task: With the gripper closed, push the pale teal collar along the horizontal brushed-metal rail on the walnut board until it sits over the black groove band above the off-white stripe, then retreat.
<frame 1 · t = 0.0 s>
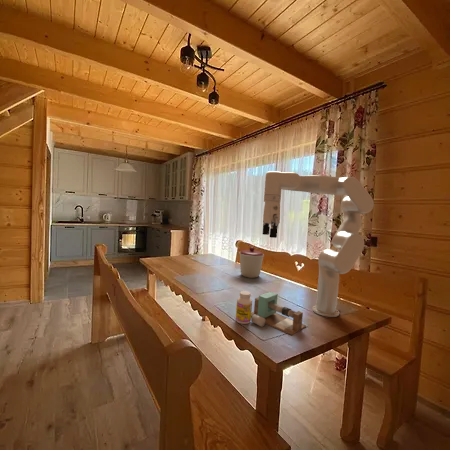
hand: (269, 235, 120), 37 cm above the table, tool pointing down, fingers open, 9 cm apart
pipe rig: (275, 320, 116), on the table
collar: (267, 304, 119), point 6 cm above the table, slide at 0.0 cm
canister: (250, 276, 186), on the table
supplement bottle: (243, 321, 114), on the table
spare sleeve: (258, 324, 112), on the table
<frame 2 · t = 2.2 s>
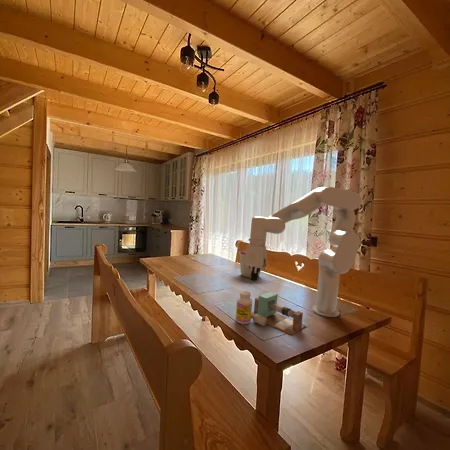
hand: (253, 280, 124), 15 cm above the table, tool pointing down, fingers closed
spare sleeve: (258, 323, 112), on the table, tilted 34°
everything else where it was.
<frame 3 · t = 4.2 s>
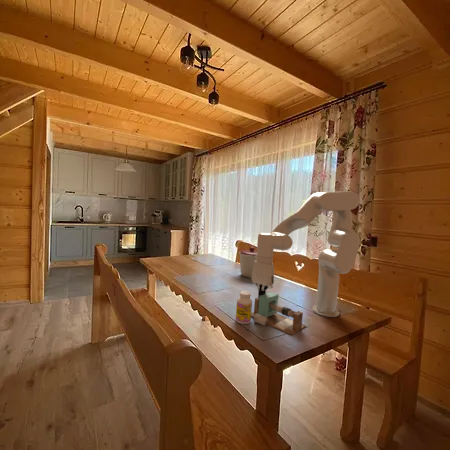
hand: (261, 297, 122), 8 cm above the table, tool pointing down, fingers closed
collar: (268, 304, 119), point 6 cm above the table, slide at 0.4 cm, touching gripper
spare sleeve: (258, 322, 112), on the table, tilted 48°
everything else where it was.
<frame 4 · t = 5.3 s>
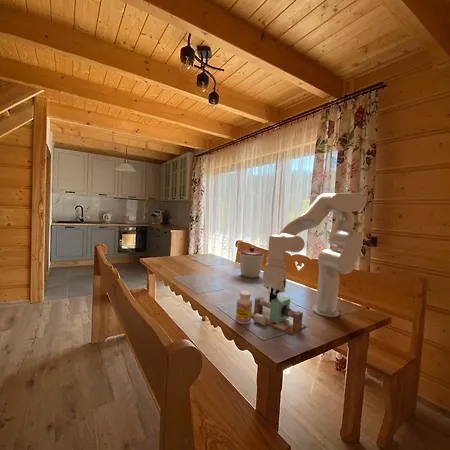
hand: (272, 302, 117), 8 cm above the table, tool pointing down, fingers closed
collar: (280, 309, 114), point 6 cm above the table, slide at 6.7 cm, touching gripper
everything else where it was.
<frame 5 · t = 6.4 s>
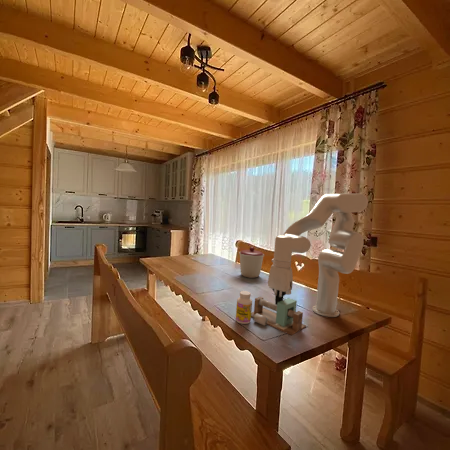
hand: (278, 304, 115), 8 cm above the table, tool pointing down, fingers closed
collar: (286, 311, 112), point 6 cm above the table, slide at 9.9 cm, touching gripper
everything else where it was.
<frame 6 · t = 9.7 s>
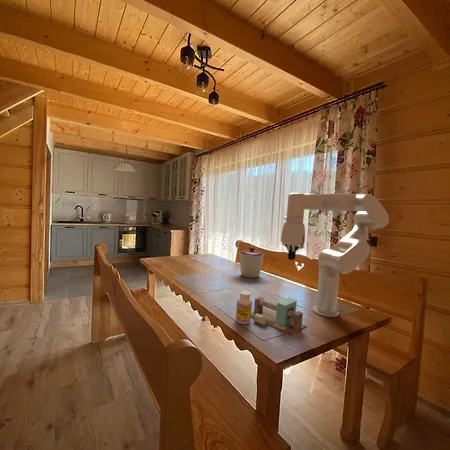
hand: (291, 259, 120), 27 cm above the table, tool pointing down, fingers closed
collar: (286, 311, 112), point 6 cm above the table, slide at 9.9 cm
everything else where it was.
at the end: collar slide at 9.9 cm; collar 0.1 cm from the target spot, resting on pipe rig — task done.
